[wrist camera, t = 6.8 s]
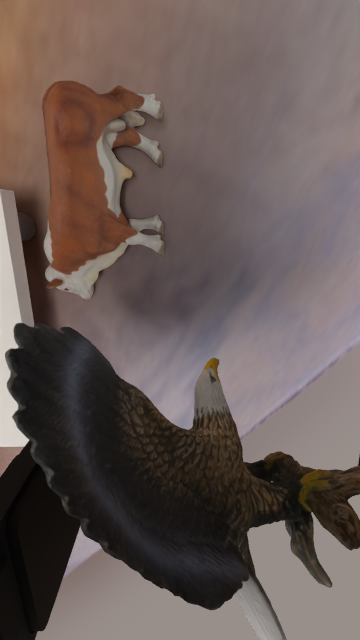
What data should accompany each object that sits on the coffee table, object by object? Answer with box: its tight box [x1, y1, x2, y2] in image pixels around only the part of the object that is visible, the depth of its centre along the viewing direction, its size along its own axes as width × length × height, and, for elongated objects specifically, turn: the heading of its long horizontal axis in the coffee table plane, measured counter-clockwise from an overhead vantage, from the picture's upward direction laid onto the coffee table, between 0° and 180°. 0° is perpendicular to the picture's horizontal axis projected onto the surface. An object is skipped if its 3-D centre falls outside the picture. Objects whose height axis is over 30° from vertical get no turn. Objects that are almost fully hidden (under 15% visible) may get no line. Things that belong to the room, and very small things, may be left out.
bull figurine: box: [42, 81, 165, 300], centre depth 21 cm, size 4×13×8 cm
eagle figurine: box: [5, 323, 360, 640], centre depth 9 cm, size 8×7×9 cm
